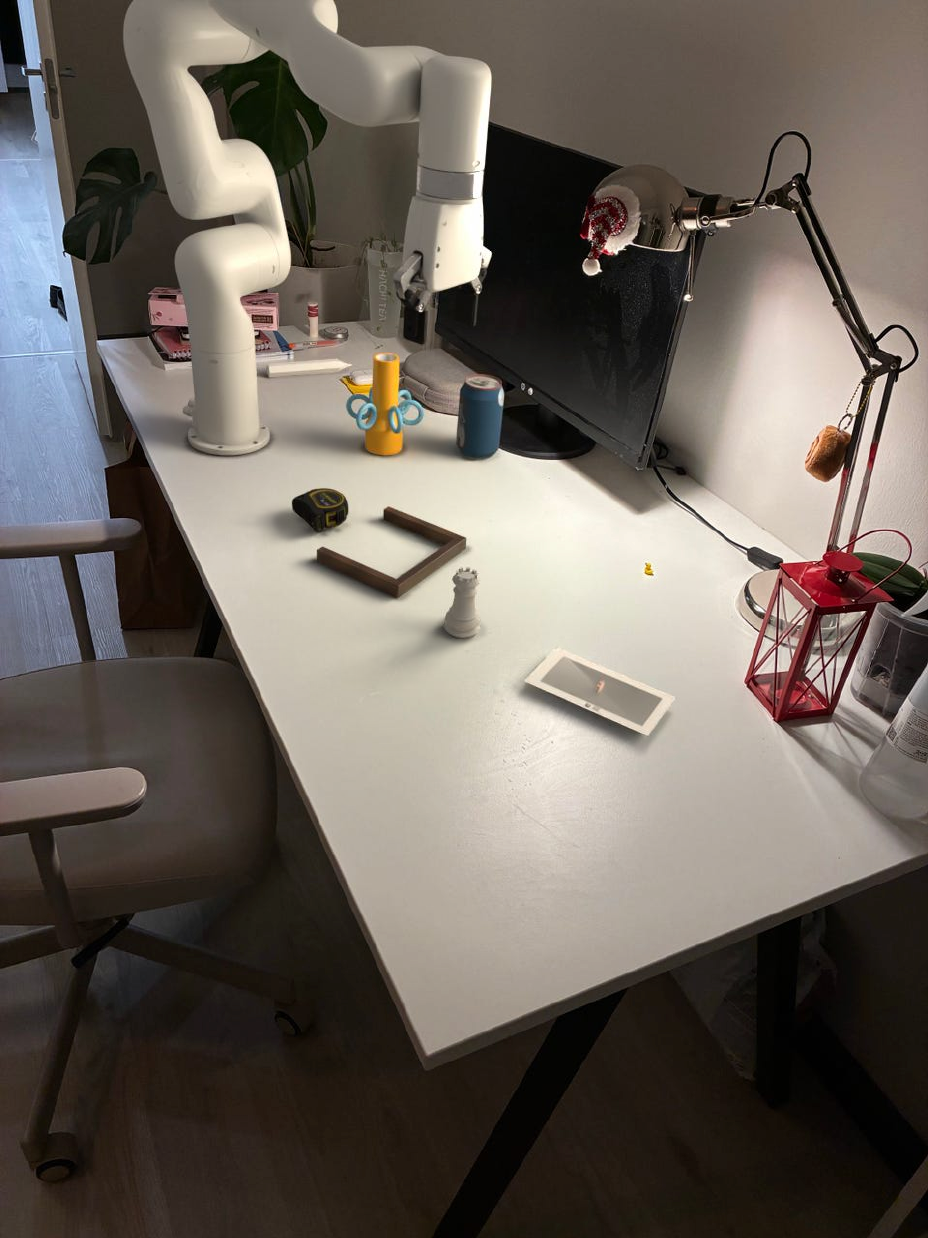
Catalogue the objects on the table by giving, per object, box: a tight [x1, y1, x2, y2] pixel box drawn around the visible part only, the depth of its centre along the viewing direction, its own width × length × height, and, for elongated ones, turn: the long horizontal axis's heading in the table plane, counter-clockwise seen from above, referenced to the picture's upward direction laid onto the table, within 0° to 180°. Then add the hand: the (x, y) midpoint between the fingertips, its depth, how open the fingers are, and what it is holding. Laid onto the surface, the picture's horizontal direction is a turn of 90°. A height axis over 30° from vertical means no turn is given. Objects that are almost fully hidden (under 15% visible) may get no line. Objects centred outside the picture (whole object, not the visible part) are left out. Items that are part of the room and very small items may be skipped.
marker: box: [266, 358, 353, 378], centre depth 177 cm, size 3×2×16 cm
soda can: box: [455, 373, 505, 461], centre depth 153 cm, size 7×7×12 cm
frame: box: [316, 505, 467, 598], centre depth 128 cm, size 13×15×2 cm
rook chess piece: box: [443, 566, 481, 639], centre depth 114 cm, size 4×4×8 cm
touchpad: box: [523, 646, 677, 737], centre depth 107 cm, size 8×15×2 cm, turn 58°
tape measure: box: [291, 487, 349, 533], centre depth 133 cm, size 7×7×4 cm
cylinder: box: [345, 352, 425, 456], centre depth 150 cm, size 12×10×15 cm
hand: (440, 332), depth 119 cm, fingers open, 9 cm apart
